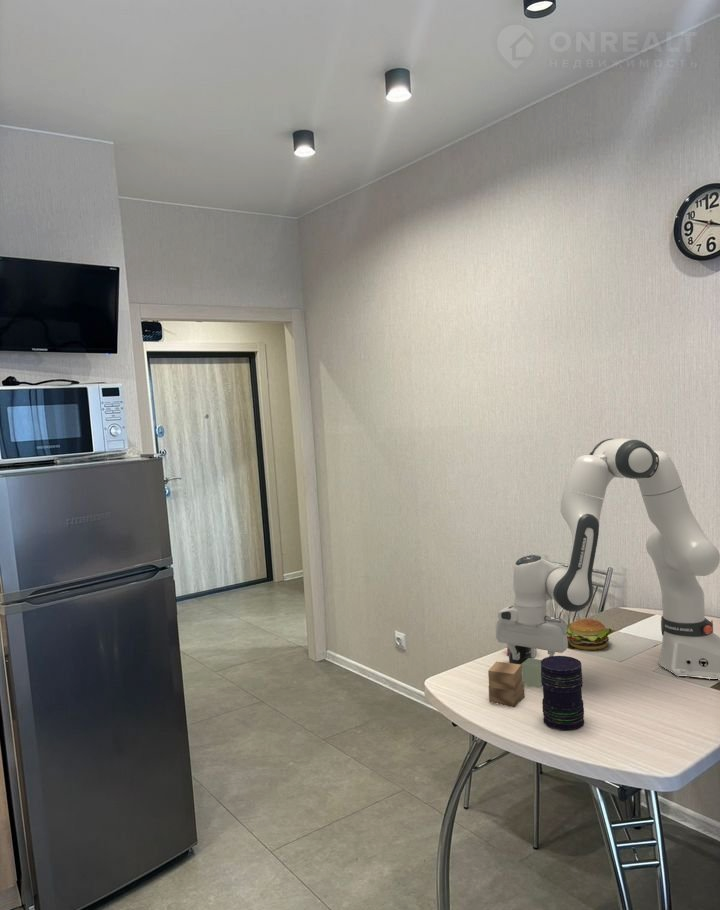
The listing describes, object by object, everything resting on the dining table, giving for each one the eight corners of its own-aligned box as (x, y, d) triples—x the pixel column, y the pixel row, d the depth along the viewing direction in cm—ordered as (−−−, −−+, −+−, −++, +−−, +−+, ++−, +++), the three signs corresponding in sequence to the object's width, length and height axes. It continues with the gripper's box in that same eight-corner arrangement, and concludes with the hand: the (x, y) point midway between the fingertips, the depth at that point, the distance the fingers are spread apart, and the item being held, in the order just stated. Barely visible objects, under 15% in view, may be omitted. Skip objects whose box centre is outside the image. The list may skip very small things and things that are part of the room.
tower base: (524, 697, 188) (523, 681, 187) (514, 707, 182) (513, 691, 182) (500, 693, 192) (499, 677, 192) (489, 702, 186) (488, 686, 186)
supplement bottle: (532, 668, 207) (530, 629, 206) (509, 668, 208) (507, 629, 208) (531, 660, 214) (529, 622, 213) (509, 660, 215) (507, 622, 214)
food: (557, 647, 223) (556, 623, 223) (577, 635, 234) (576, 612, 233) (599, 655, 214) (598, 630, 214) (617, 642, 224) (616, 618, 224)
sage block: (546, 681, 197) (545, 660, 197) (539, 687, 193) (538, 666, 193) (529, 678, 200) (528, 657, 200) (522, 684, 196) (521, 663, 196)
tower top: (522, 680, 188) (521, 664, 188) (514, 690, 182) (514, 673, 182) (497, 677, 191) (496, 661, 191) (489, 687, 185) (488, 670, 185)
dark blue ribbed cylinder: (560, 734, 166) (557, 673, 165) (534, 718, 175) (531, 660, 174) (593, 724, 170) (590, 664, 169) (566, 709, 179) (563, 652, 178)
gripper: (570, 616, 192) (572, 665, 193) (502, 606, 204) (503, 652, 205) (562, 622, 187) (563, 672, 188) (492, 612, 199) (494, 659, 200)
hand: (531, 662), depth 196 cm, fingers open, 8 cm apart
